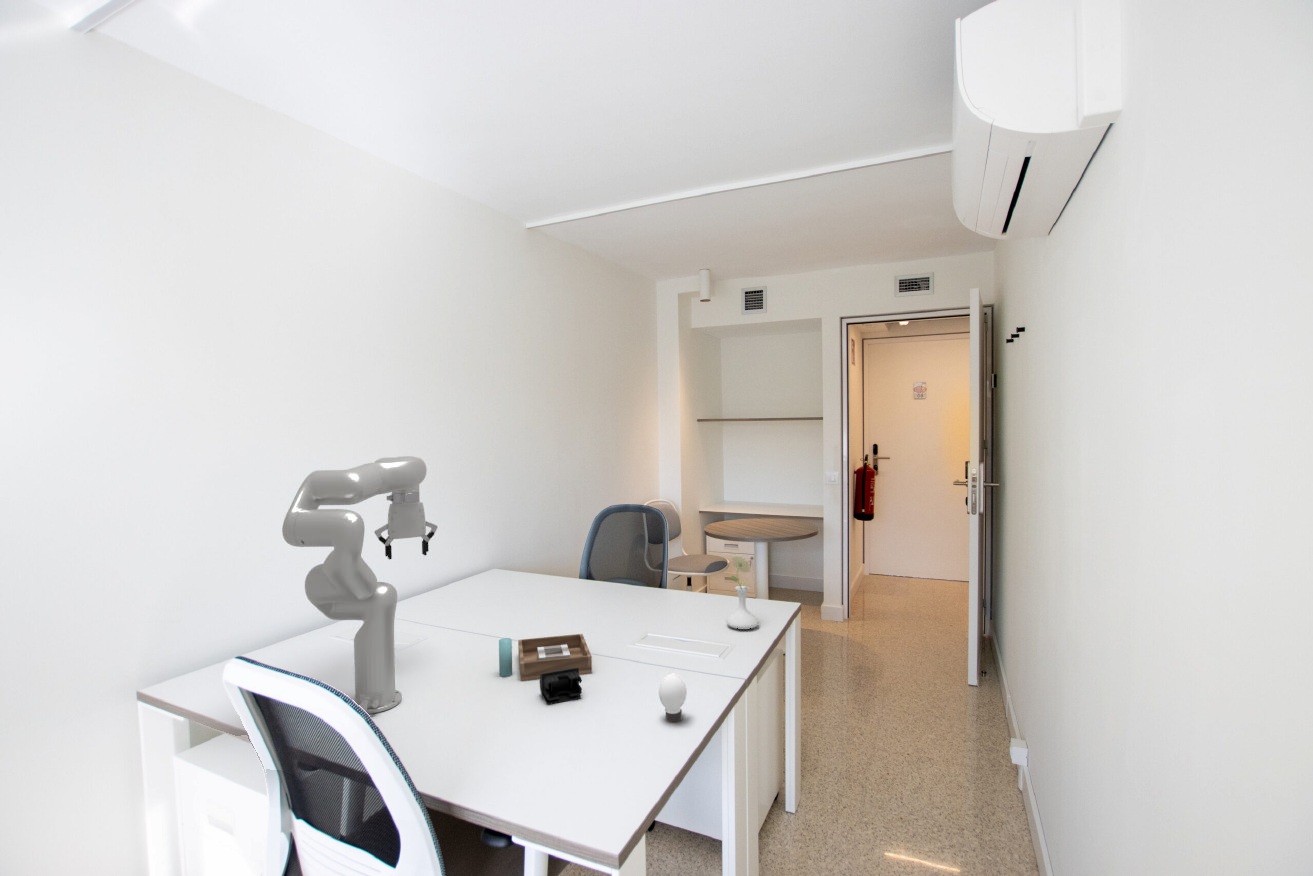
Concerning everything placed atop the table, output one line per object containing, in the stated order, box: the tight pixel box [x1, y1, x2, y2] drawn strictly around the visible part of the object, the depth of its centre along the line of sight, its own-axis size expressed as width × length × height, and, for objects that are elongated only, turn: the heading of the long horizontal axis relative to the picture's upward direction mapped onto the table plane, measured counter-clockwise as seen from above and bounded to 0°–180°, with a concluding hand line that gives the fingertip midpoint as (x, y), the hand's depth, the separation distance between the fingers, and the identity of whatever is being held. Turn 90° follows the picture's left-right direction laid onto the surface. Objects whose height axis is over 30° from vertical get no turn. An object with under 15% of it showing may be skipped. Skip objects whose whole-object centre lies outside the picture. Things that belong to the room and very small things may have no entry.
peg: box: [498, 637, 513, 678], centre depth 180 cm, size 4×4×10 cm
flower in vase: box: [725, 554, 760, 630], centre depth 220 cm, size 13×11×25 cm
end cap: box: [539, 667, 583, 706], centre depth 165 cm, size 10×7×7 cm
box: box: [517, 633, 593, 682], centre depth 188 cm, size 20×20×5 cm
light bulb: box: [658, 672, 687, 723], centre depth 152 cm, size 7×7×11 cm
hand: (407, 556), depth 184 cm, fingers open, 9 cm apart
